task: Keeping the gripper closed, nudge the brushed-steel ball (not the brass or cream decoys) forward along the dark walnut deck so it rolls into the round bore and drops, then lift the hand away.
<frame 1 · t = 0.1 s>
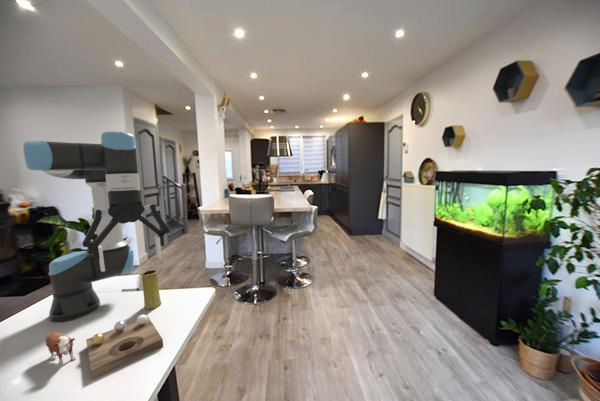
hand: (132, 263, 71), 28 cm above the table, fingers open, 13 cm apart
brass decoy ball: (97, 339, 75), point 4 cm above the table, touching deck
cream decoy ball: (142, 319, 84), point 4 cm above the table, touching deck
bull figurine: (63, 360, 73), on the table
deck: (124, 346, 77), on the table
steel ball: (120, 326, 81), point 4 cm above the table, touching deck
vase: (153, 306, 102), on the table
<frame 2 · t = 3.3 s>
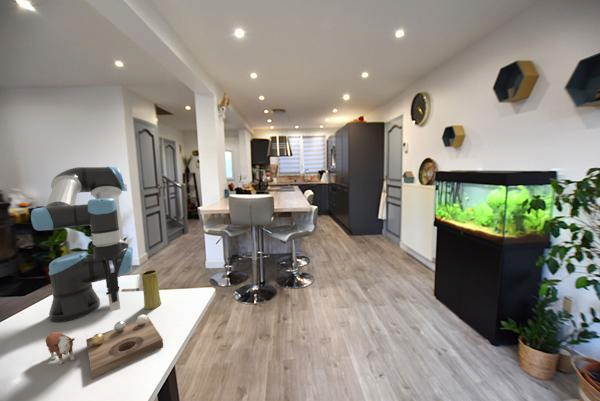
hand: (115, 309, 86), 7 cm above the table, fingers closed
nothing on the table moved.
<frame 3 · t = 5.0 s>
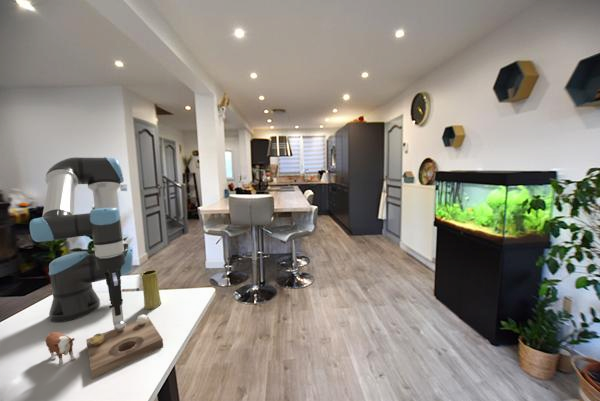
hand: (118, 323, 83), 4 cm above the table, fingers closed
nothing on the table moved.
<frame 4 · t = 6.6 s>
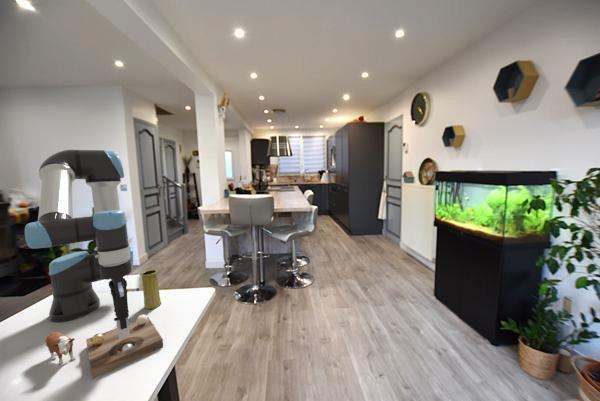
hand: (124, 336, 76), 4 cm above the table, fingers closed
steel ball: (127, 349, 73), point 2 cm above the table, tilted 87°
everything else where it was.
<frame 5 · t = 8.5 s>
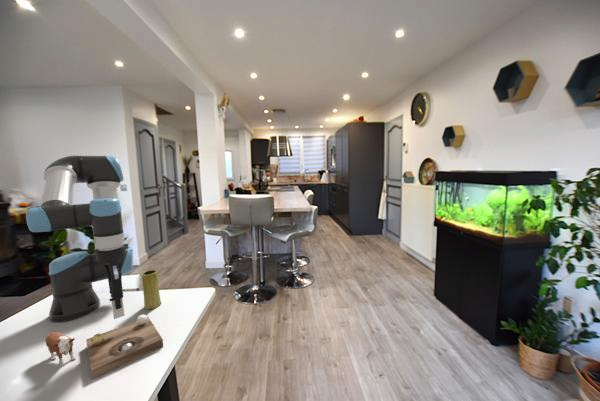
hand: (119, 316, 81), 7 cm above the table, fingers closed
steel ball: (127, 349, 74), point 2 cm above the table, tilted 71°
everything else where it was.
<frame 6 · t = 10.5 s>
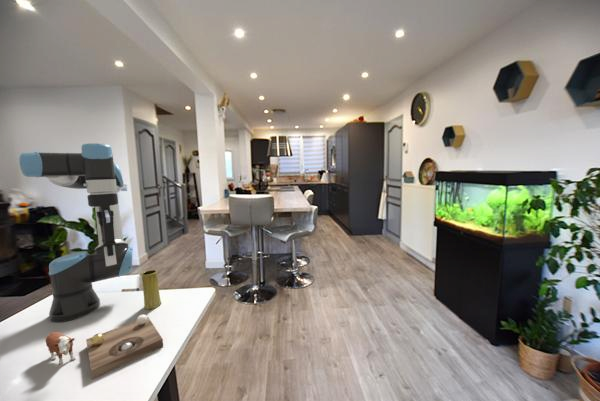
hand: (111, 264, 81), 24 cm above the table, fingers closed
steel ball: (126, 348, 74), point 2 cm above the table, tilted 55°
everything else where it was.
at the end: steel ball 0.3 cm from the target spot on the deck, point 1.6 cm above the deck's base; steel ball point 1.6 cm above the table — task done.
